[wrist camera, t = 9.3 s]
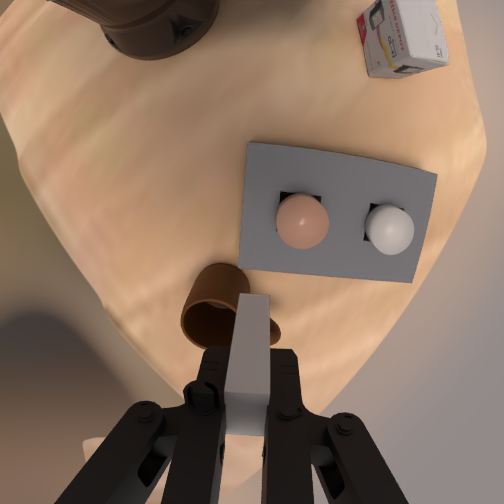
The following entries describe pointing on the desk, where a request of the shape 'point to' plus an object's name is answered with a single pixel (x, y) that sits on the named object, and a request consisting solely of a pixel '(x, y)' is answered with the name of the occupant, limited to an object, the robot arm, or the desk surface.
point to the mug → (216, 307)
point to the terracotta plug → (301, 221)
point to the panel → (331, 211)
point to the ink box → (402, 38)
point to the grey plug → (389, 228)
